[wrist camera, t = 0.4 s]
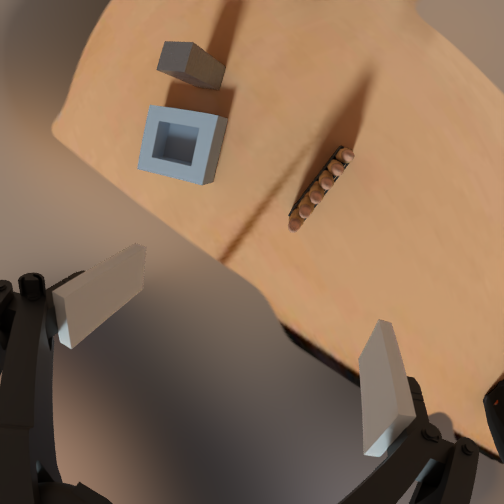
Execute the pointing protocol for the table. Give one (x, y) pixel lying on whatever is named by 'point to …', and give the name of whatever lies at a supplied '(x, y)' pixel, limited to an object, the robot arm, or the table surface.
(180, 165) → the slot block
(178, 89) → the table surface
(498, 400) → the portable speaker
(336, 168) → the ammunition clip
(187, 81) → the steel pin
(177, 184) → the table surface
